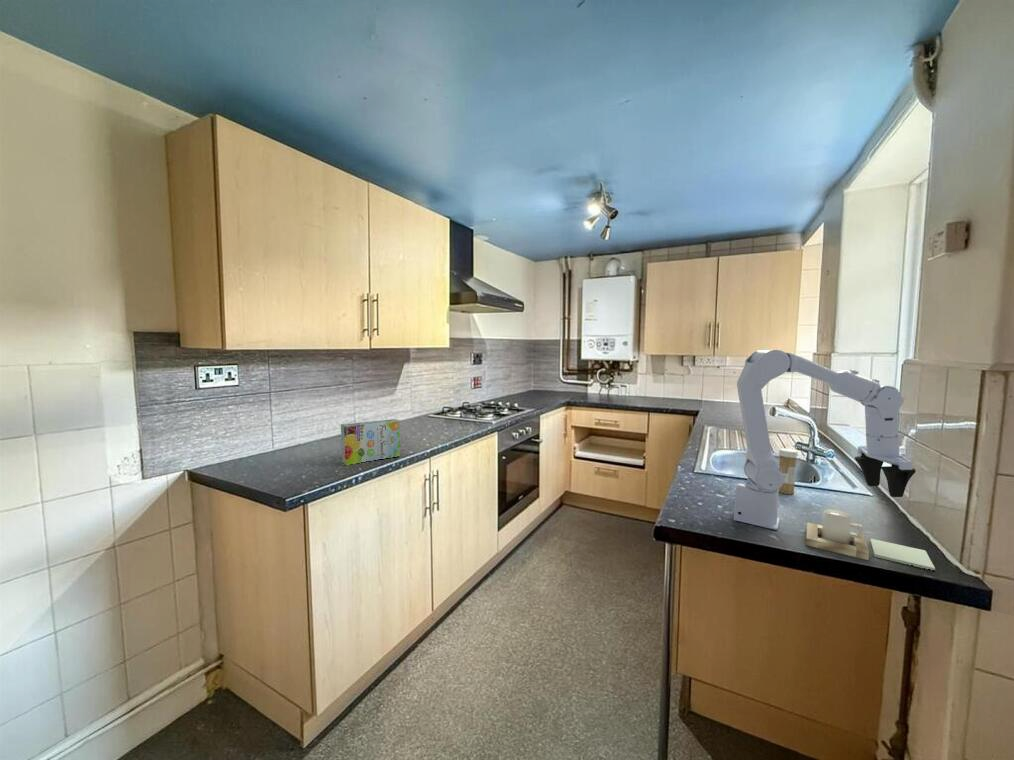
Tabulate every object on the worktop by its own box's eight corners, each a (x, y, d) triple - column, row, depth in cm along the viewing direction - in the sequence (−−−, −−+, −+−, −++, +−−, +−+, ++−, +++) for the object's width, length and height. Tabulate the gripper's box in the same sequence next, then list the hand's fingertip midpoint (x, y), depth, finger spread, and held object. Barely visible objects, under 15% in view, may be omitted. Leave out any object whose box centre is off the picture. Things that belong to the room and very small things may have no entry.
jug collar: (806, 545, 91) (806, 538, 91) (806, 528, 100) (807, 522, 100) (868, 560, 85) (869, 552, 85) (863, 541, 93) (864, 534, 93)
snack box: (395, 454, 165) (395, 418, 164) (400, 457, 161) (400, 420, 159) (341, 462, 153) (340, 423, 152) (345, 466, 148) (344, 426, 147)
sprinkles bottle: (773, 489, 127) (775, 447, 126) (786, 489, 128) (789, 447, 127) (784, 495, 123) (787, 451, 122) (798, 494, 123) (801, 451, 122)
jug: (821, 544, 92) (823, 514, 91) (821, 536, 96) (823, 507, 95) (861, 553, 88) (864, 522, 87) (859, 544, 92) (862, 515, 91)
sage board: (874, 556, 86) (874, 554, 86) (870, 540, 94) (870, 538, 94) (934, 571, 81) (935, 568, 81) (925, 553, 88) (925, 550, 88)
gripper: (927, 440, 88) (929, 501, 89) (879, 428, 102) (881, 480, 103) (890, 442, 89) (892, 502, 90) (847, 429, 103) (850, 481, 104)
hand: (884, 490), depth 97 cm, fingers open, 7 cm apart
